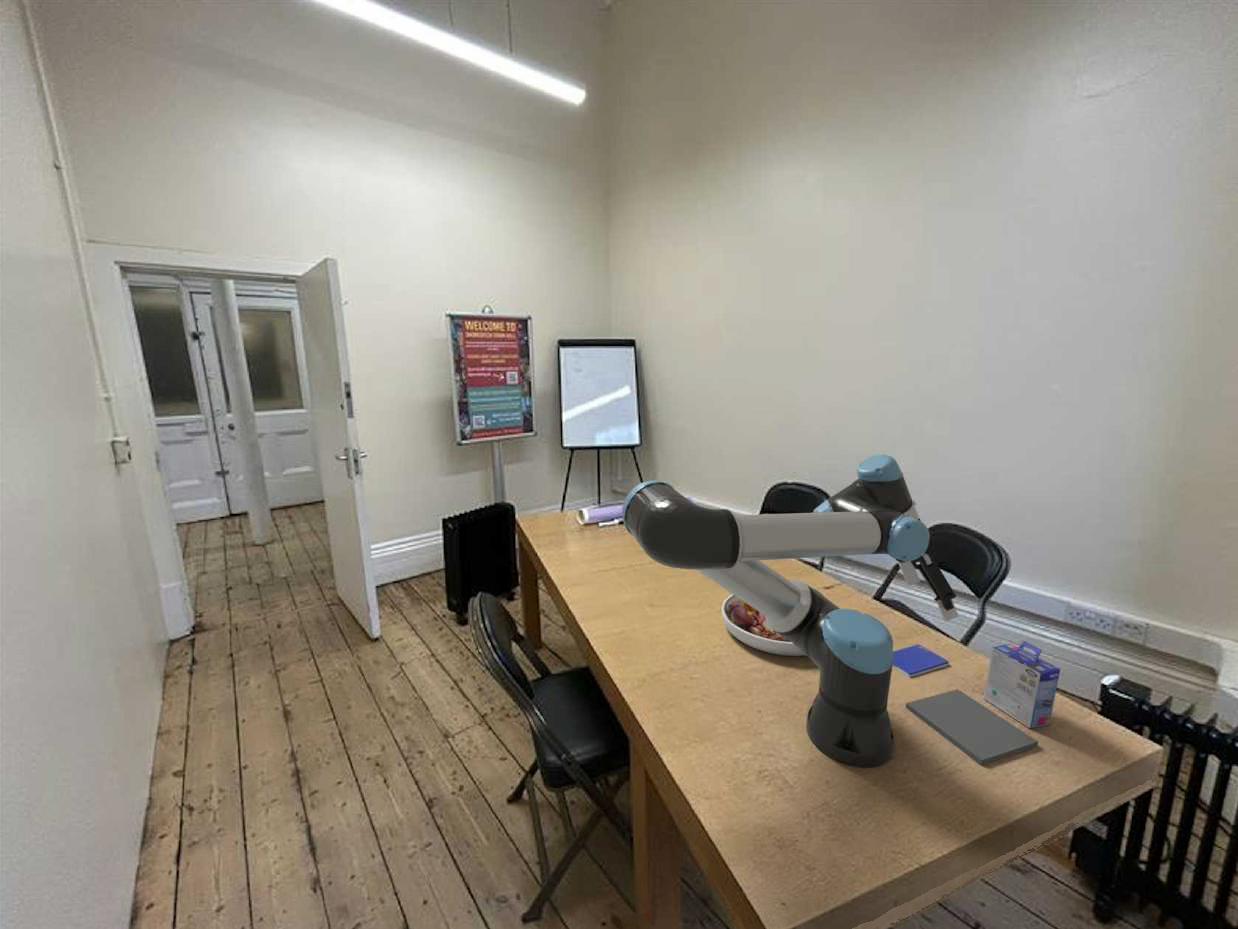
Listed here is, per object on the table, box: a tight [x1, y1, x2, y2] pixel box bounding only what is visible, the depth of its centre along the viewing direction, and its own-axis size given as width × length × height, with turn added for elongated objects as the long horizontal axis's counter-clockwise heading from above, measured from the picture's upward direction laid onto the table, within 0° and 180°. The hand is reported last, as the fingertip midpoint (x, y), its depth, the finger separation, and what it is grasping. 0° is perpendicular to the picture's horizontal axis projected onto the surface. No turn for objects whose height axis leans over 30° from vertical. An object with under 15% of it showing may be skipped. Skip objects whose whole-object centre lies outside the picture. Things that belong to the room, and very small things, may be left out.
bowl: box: [721, 593, 807, 657], centre depth 135 cm, size 30×30×8 cm
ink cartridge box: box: [983, 640, 1061, 729], centre depth 102 cm, size 10×6×14 cm, turn 16°
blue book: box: [892, 644, 950, 678], centre depth 121 cm, size 2×8×12 cm
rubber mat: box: [905, 688, 1039, 766], centre depth 99 cm, size 14×16×1 cm
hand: (931, 599), depth 113 cm, fingers open, 13 cm apart
